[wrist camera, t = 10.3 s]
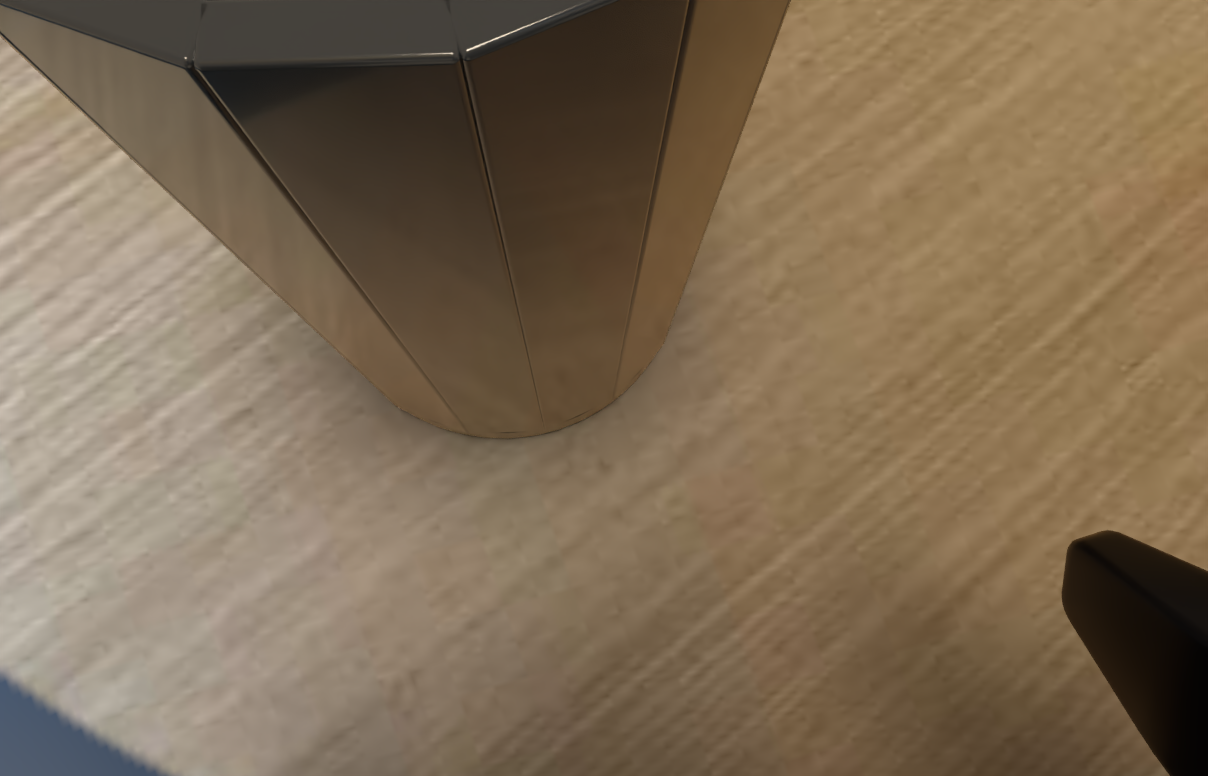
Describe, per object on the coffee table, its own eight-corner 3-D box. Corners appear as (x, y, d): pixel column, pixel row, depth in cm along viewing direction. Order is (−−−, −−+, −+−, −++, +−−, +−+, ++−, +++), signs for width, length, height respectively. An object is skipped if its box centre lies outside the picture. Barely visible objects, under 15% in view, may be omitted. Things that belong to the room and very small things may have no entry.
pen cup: (739, 348, 18) (1143, -219, 5) (411, 499, 17) (-72, 275, 4) (589, 55, 19) (615, -1004, 6) (276, 184, 18) (-419, -720, 6)
